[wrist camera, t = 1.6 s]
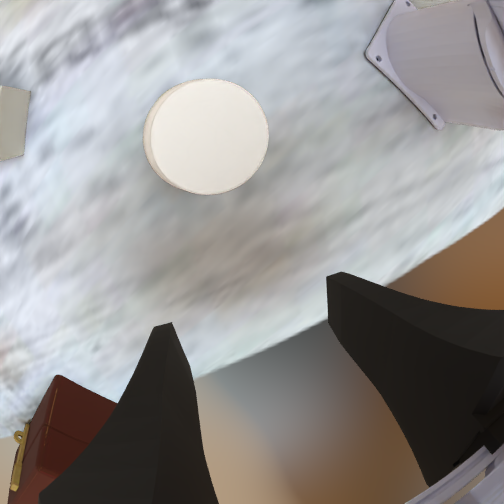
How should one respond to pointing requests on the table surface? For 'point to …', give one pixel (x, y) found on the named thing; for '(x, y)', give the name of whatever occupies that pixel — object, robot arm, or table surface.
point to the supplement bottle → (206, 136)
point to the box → (55, 437)
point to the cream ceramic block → (13, 121)
